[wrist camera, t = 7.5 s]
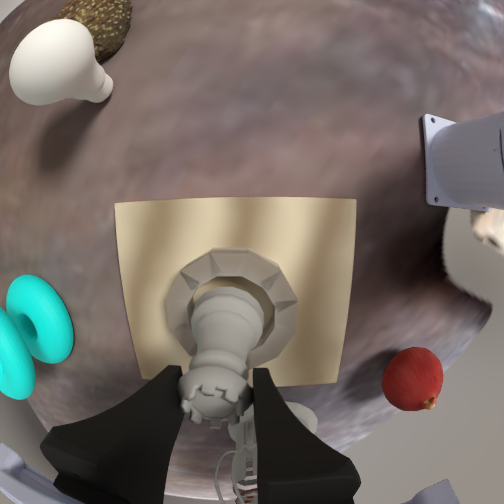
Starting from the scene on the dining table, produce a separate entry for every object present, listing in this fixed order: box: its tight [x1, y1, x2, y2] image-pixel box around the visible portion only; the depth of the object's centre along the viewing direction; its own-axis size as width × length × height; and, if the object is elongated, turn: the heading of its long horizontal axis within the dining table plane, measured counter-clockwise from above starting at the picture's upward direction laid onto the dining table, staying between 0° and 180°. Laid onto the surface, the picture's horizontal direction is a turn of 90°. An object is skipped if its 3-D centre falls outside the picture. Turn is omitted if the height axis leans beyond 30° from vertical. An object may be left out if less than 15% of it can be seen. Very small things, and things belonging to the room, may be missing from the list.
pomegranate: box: [382, 347, 443, 411], centre depth 18 cm, size 6×6×8 cm
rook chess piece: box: [176, 287, 264, 429], centre depth 13 cm, size 4×4×8 cm
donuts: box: [0, 275, 74, 400], centre depth 17 cm, size 10×10×10 cm
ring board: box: [115, 197, 356, 387], centre depth 20 cm, size 18×16×3 cm
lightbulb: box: [9, 19, 113, 105], centre depth 12 cm, size 6×6×11 cm
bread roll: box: [49, 0, 132, 62], centre depth 13 cm, size 13×12×5 cm
